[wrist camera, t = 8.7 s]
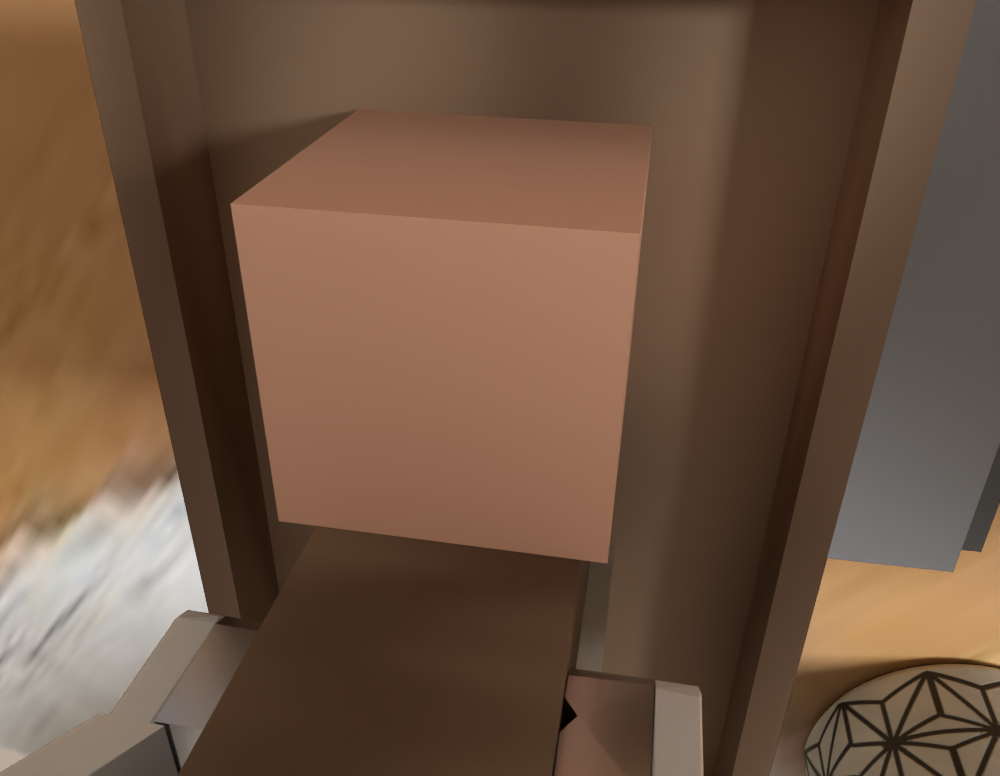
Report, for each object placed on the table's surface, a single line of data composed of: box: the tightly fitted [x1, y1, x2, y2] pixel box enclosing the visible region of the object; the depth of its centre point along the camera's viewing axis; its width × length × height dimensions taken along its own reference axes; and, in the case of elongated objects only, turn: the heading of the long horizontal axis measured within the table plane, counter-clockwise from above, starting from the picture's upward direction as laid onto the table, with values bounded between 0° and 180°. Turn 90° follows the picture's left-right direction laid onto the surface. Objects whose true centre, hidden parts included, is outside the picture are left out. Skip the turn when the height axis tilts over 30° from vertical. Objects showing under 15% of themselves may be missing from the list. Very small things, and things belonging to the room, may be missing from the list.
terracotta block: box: [231, 109, 653, 563], centre depth 11 cm, size 4×4×4 cm
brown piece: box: [75, 0, 977, 776], centre depth 11 cm, size 10×16×10 cm, turn 0°
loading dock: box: [827, 0, 1000, 572], centre depth 27 cm, size 15×20×6 cm
